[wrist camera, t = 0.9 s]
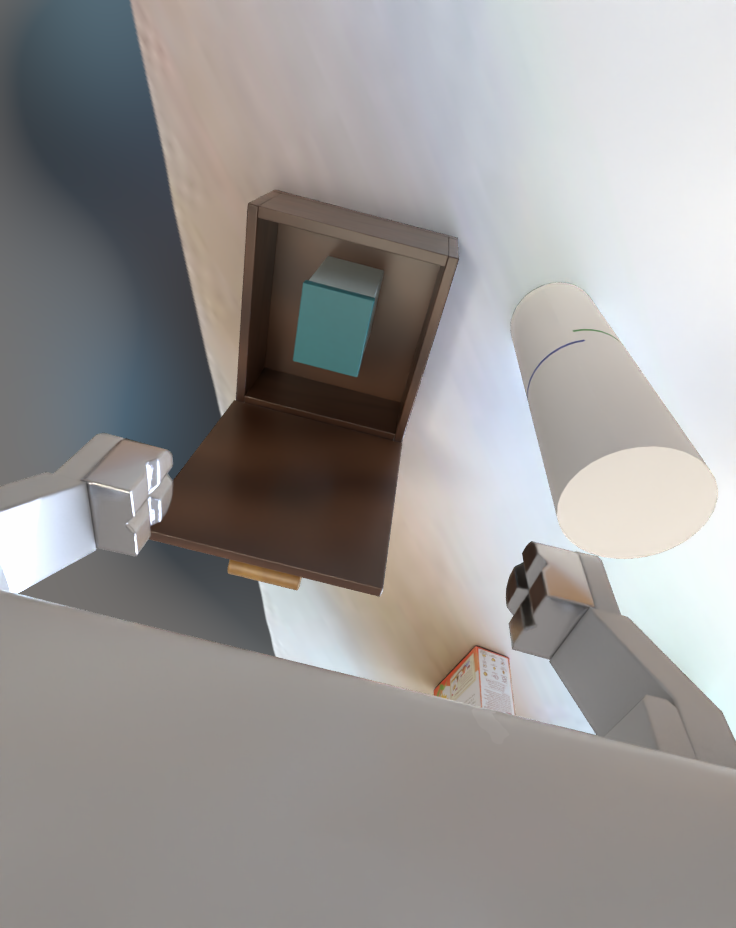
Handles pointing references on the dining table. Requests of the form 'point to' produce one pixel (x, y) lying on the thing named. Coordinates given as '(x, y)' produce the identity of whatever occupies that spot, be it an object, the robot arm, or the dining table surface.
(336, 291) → the white teal-lidded container
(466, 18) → the dining table surface
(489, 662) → the cracker box
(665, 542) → the cylindrical container
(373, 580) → the lid
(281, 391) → the chest
